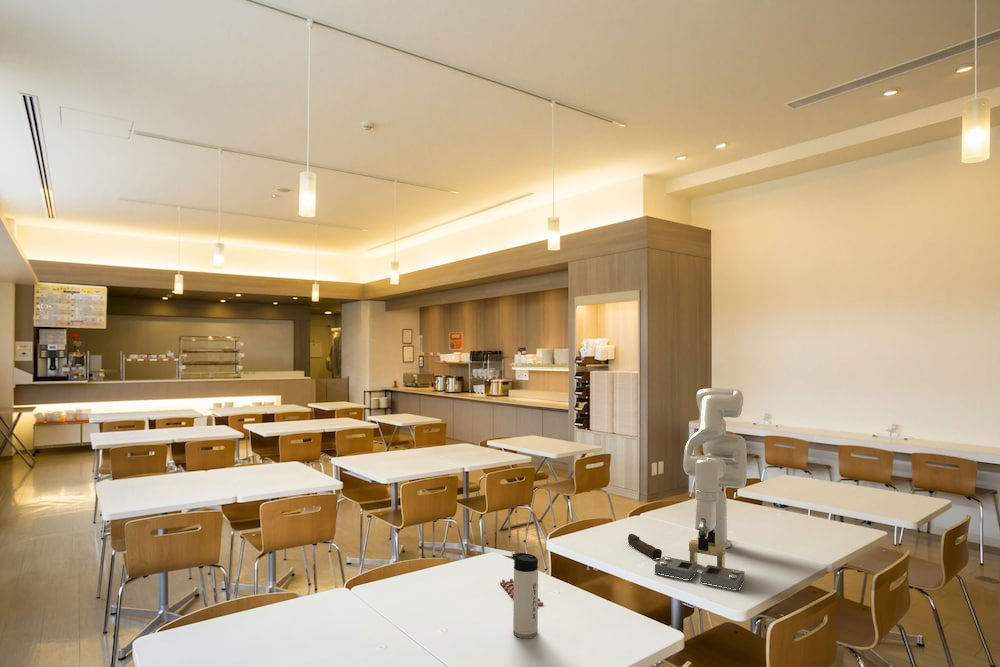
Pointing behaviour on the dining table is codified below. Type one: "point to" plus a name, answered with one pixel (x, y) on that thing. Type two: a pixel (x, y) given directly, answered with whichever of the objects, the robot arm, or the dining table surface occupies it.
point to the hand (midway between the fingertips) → (706, 546)
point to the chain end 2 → (723, 577)
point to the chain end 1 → (676, 567)
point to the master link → (708, 552)
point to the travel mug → (525, 596)
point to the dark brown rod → (644, 546)
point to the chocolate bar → (512, 589)
